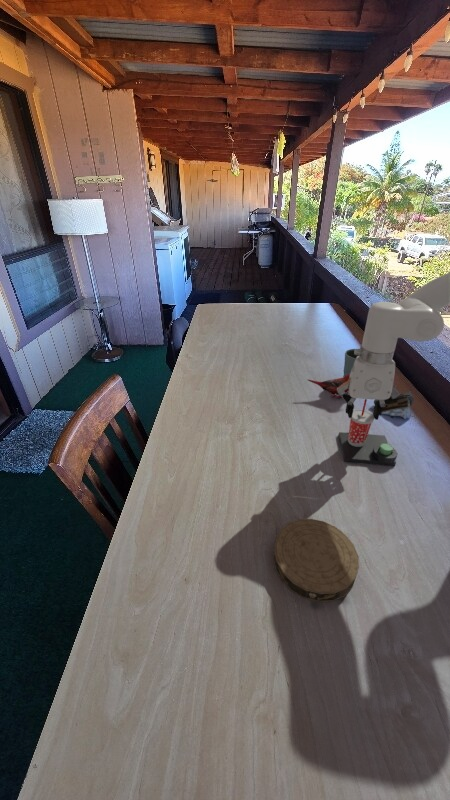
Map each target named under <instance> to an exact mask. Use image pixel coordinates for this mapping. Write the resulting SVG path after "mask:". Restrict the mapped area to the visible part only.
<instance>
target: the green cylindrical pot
mask: <svg viewBox="0 0 450 800" xmlns="http://www.w3.org/2000/svg"><path fill="white" fill-rule="evenodd" d="M355 349H356V348H350V349H347V350H346V351H345V352H344V362H343V364H344V365H343V376H342V378H343V377H345V376H347V375H348V374H350V373H351V370H352V367H353V365H354V362H355V360H356V358H357V356H359V355H354V350H355Z"/></svg>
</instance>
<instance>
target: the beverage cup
mask: <svg viewBox="0 0 450 800" xmlns="http://www.w3.org/2000/svg"><path fill="white" fill-rule="evenodd" d="M367 401H368V399H364V402H363V407H362V409H353V414H352V418H349V427H348V433H349V434H348V442H349V444H351V445H352V446H355V447H362V446H364V444H365V441H366V438H367V435H368V434H369V433H370V429H371V426H372V424H373V422H374V420H375V418H374V416H373V412H370V411H368V410H365V409H366V406H367Z"/></svg>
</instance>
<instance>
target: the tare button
mask: <svg viewBox="0 0 450 800" xmlns="http://www.w3.org/2000/svg"><path fill="white" fill-rule="evenodd" d="M392 447H393V446H392V445H391V444H389V443H388V444H381V445H380V449H379V452H380V453H381V454H383V455H391V452H392V449H393V448H394V447H393V448H392Z"/></svg>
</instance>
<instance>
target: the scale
mask: <svg viewBox="0 0 450 800" xmlns="http://www.w3.org/2000/svg"><path fill="white" fill-rule="evenodd" d="M348 434H349V432H342V431H341V432H340V431H339V432H338V435H337V436H338V440H339V444H340V449H341V453H342V458H343V461H344V463H349V464H362V465H373V466H383V467H385V466H386V467H396V464H397V461H396V460H397V458H398V452H397V449H395V448H394V447H393V446H392V448H393V449H392V452H391V455H383V454H381V453H380V452H379V449H380V445H381V444H389V442H388V440H387V438H386V435H383V434H370V433H368V435H367V438H366V441H365V444H364V446H362V447H355V446H352V445H351V444H349V442H348Z"/></svg>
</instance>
